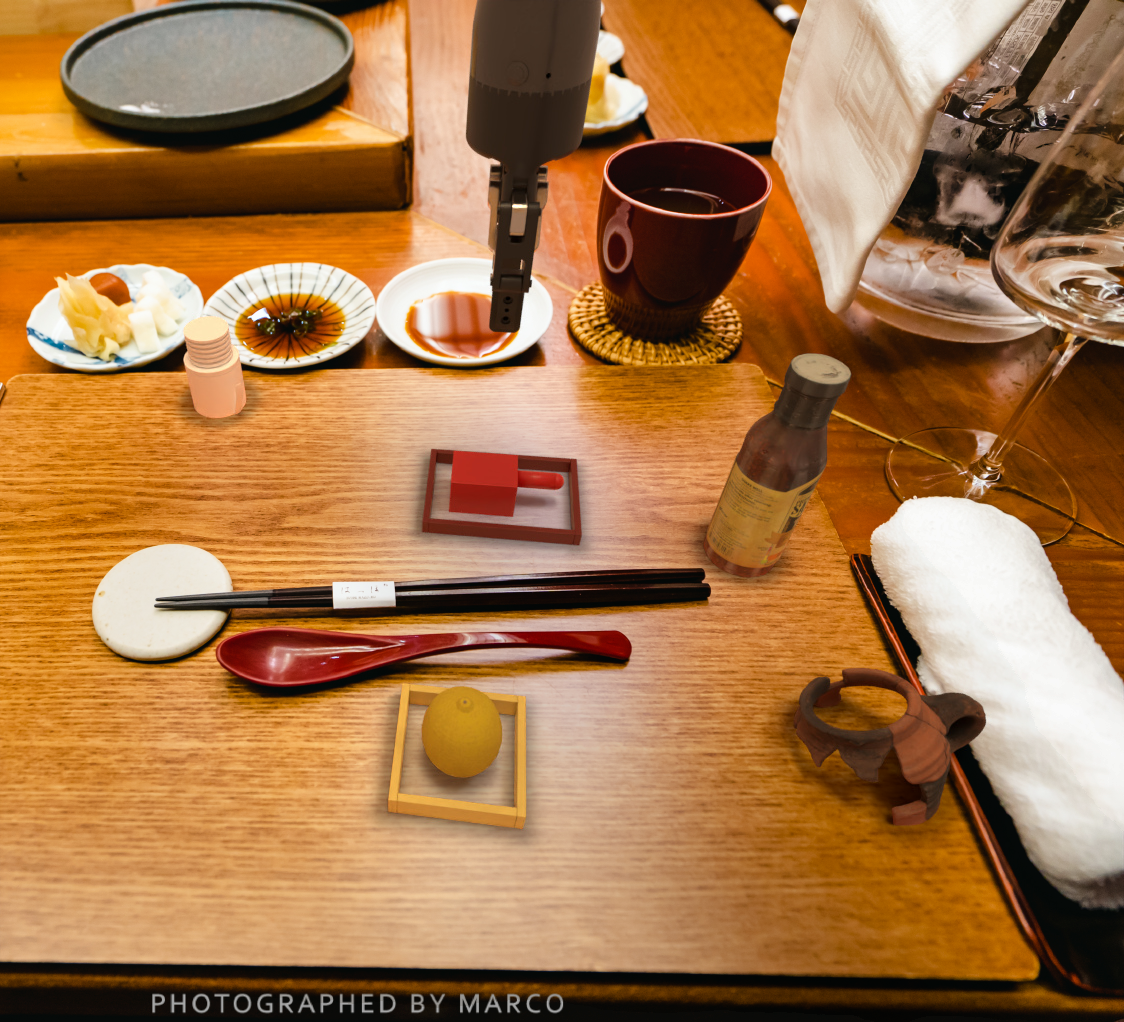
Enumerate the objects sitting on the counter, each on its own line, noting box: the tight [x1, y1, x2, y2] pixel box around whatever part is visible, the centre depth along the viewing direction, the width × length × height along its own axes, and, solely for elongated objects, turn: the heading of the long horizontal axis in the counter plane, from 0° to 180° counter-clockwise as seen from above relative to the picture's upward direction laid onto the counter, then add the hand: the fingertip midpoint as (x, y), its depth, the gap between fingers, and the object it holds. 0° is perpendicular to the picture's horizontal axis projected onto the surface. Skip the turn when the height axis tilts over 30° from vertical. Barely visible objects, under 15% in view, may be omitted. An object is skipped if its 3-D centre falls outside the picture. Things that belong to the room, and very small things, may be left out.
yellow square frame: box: [387, 682, 527, 830], centre depth 57 cm, size 9×9×2 cm
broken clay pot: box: [793, 667, 987, 826], centre depth 55 cm, size 12×10×8 cm
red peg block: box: [448, 450, 565, 518], centre depth 74 cm, size 10×4×4 cm, turn 82°
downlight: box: [182, 315, 247, 419], centre depth 85 cm, size 8×7×10 cm
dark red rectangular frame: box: [421, 448, 583, 546], centre depth 75 cm, size 14×10×2 cm
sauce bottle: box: [703, 353, 852, 578], centre depth 64 cm, size 6×6×20 cm
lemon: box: [421, 685, 503, 779], centre depth 55 cm, size 6×6×8 cm
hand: (504, 298), depth 61 cm, fingers open, 8 cm apart
